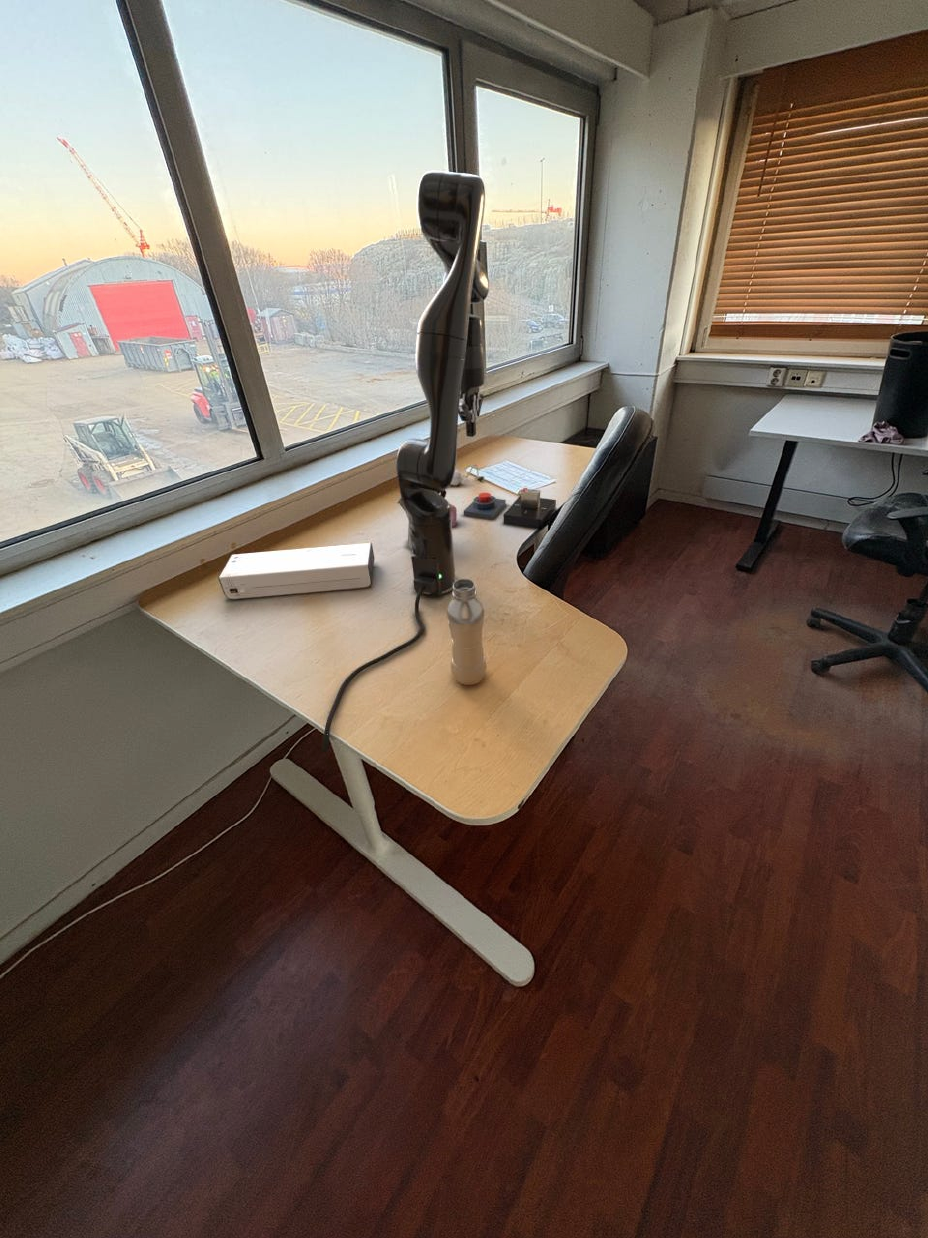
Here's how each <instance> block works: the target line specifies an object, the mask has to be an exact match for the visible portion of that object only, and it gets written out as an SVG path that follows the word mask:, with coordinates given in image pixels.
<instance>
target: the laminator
mask: <svg viewBox="0 0 928 1238" xmlns="http://www.w3.org/2000/svg"><path fill="white" fill-rule="evenodd" d="M373 548H374V547H373V543H372V542H365V543H353V544H342V545H331V546H318V547H306V548H293V549H285V550H284V549H283V550H273V551H259V552H249V553H247V552H246V553H238V554H237V553H236V554H235V553H234V554H231V555H230V557H229V559H228V560H227V562H226V563H225V565H224V567H223V569H222V570H221V572H220V574H219V575H218V577H217V579H218V581H219V584H220V587H221V589H222V592H223V594H224V596H225V597H226V598H227V599H228V600H232V601H237V600H248V599H260V598H269V597H271V598H272V597H282V596H294V595H304V594H315V593H317V594H318V593H326V592H327V593H328V592H338V591H349V590H360V589H367V588H368V589H369V588H370V587H371V586H372V584H373V581H372V580H373V572H374V565H375V564H374V563H375V553H374V549H373Z"/></svg>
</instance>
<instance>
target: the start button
mask: <svg viewBox="0 0 928 1238" xmlns="http://www.w3.org/2000/svg"><path fill="white" fill-rule="evenodd" d="M478 496H479V502H490V501H491V496H492V494H491V493H489V492H481V493H479V494H478Z"/></svg>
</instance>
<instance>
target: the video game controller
mask: <svg viewBox="0 0 928 1238" xmlns="http://www.w3.org/2000/svg"><path fill="white" fill-rule="evenodd" d="M449 504H450V509H451V523H452V528H454V527H456V526H457V525H456V524H457V518H458V513H457V511H458V510H457V506H455V504H452V503H450V502H449Z"/></svg>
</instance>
